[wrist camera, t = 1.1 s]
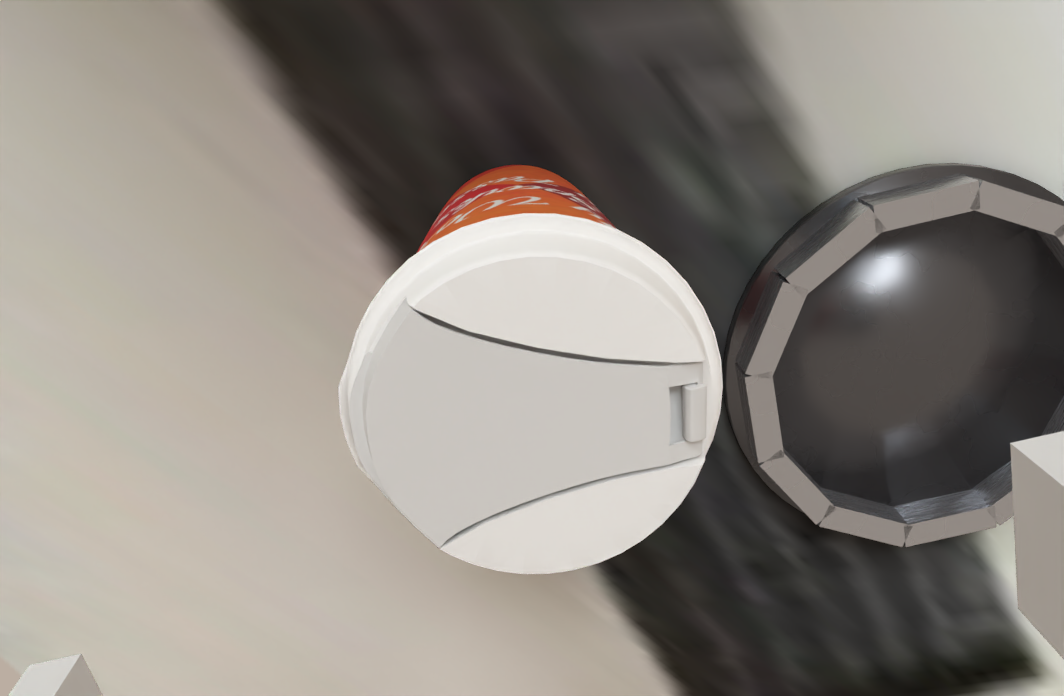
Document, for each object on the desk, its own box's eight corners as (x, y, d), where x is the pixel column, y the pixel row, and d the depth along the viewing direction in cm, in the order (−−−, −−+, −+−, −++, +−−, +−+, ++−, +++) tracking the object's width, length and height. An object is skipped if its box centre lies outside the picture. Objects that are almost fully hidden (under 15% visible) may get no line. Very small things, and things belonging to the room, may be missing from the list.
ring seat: (693, 218, 32) (706, 230, 30) (1108, 118, 31) (1148, 125, 29) (751, 559, 37) (765, 588, 35) (1107, 480, 37) (1141, 505, 35)
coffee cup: (627, 122, 31) (744, 214, 17) (632, 344, 34) (735, 581, 20) (386, 139, 30) (297, 245, 16) (412, 360, 33) (355, 611, 19)
